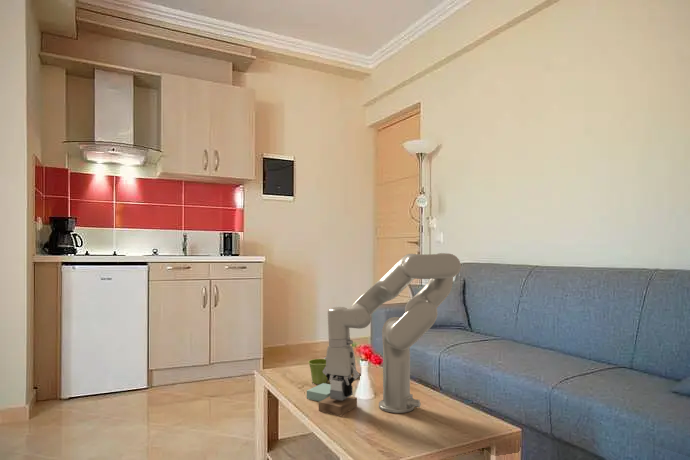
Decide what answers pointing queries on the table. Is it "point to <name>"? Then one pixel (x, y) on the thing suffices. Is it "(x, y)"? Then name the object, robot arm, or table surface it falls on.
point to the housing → (338, 388)
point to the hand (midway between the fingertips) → (341, 393)
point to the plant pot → (318, 370)
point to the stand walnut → (337, 405)
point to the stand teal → (319, 392)
